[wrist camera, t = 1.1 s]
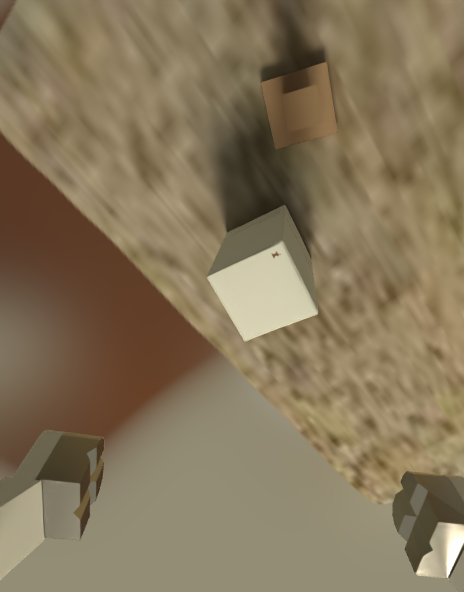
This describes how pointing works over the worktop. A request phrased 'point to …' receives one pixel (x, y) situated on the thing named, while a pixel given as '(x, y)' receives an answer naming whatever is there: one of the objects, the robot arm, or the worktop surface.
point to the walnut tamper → (300, 106)
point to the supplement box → (264, 275)
